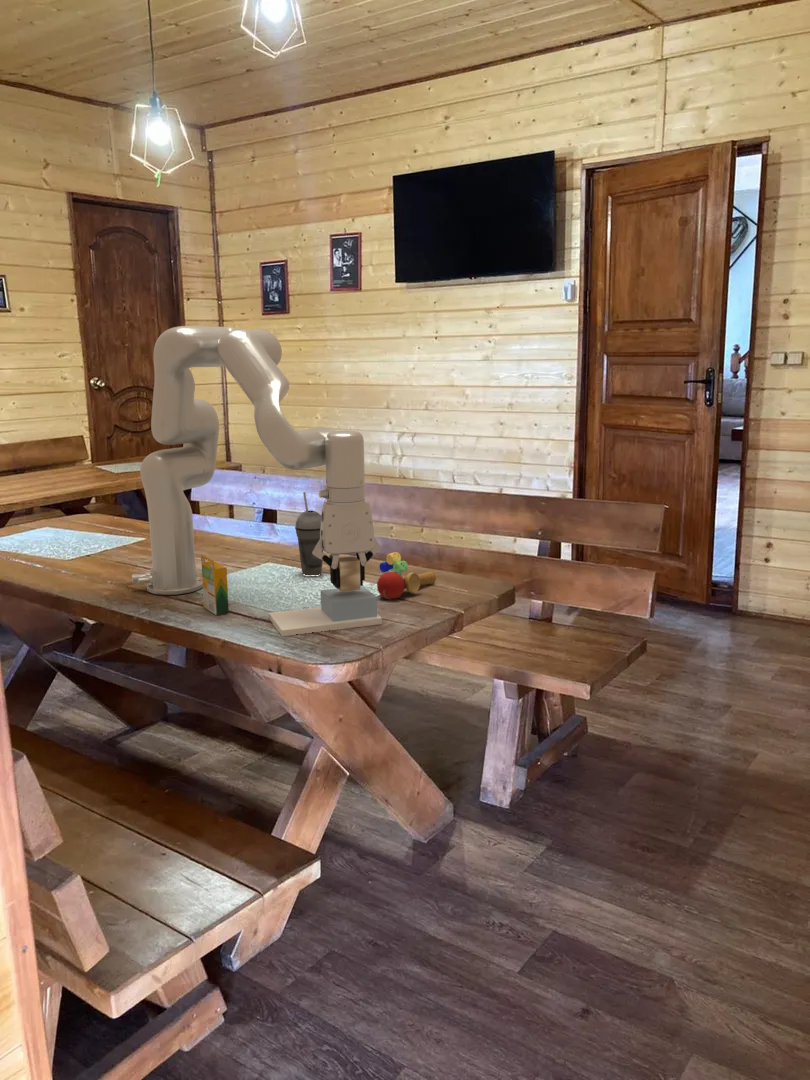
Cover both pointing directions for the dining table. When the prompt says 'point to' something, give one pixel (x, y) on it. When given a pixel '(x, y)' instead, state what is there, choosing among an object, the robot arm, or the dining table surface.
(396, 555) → the dice
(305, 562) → the beverage cup
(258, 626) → the dining table surface
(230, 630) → the dining table surface
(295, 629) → the baseplate
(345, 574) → the birch block
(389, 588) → the kendama
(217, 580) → the crayon box
